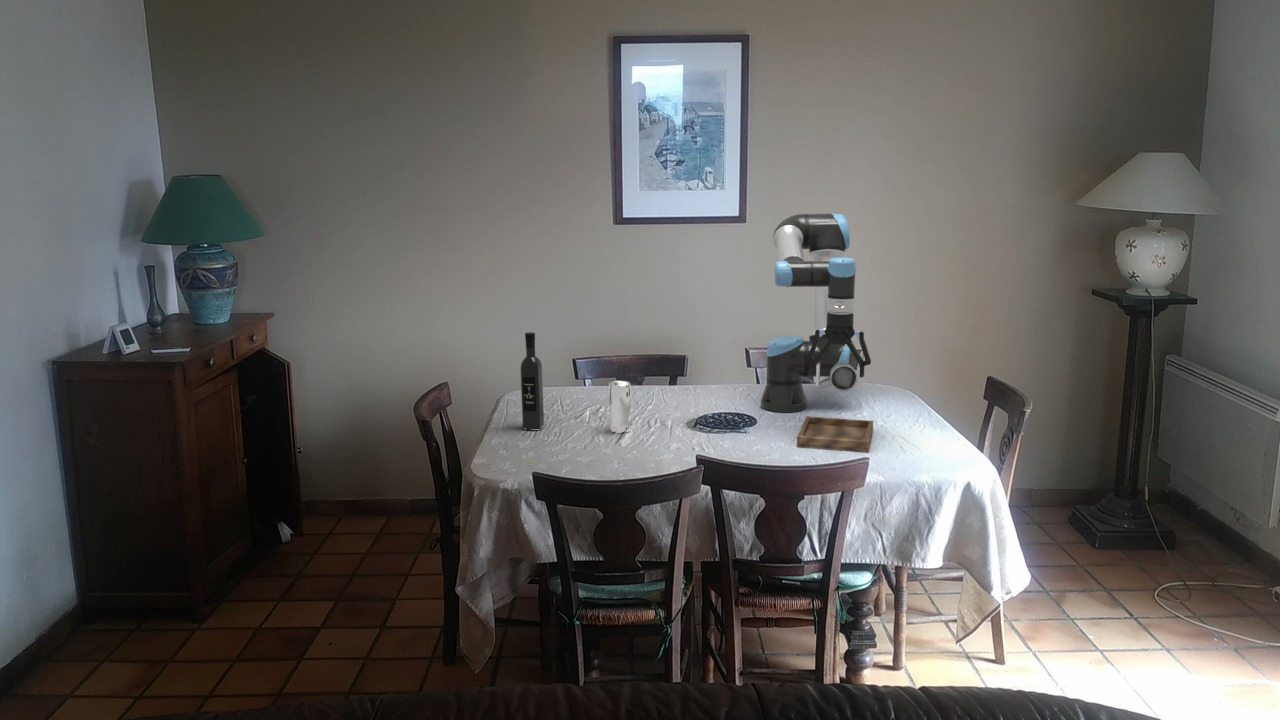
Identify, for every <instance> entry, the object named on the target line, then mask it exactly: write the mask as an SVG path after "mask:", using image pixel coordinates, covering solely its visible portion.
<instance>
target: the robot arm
mask: <svg viewBox="0 0 1280 720" xmlns="http://www.w3.org/2000/svg"><path fill="white" fill-rule="evenodd" d="M772 238H773V239H772V240H773V244H774V247H775V249H776V250H777V253H778V261H776V262H775V264H774V273H773V274H774V275H773V276H774V277H773V278H774V285H775V286H777V287H785V288H790V287H791V288H798V287H801V288H802V287H803V288H805V287H807V288H808V287H811V288H813V331H812V333H810V334H809V337H808V340H804V338H803V336H801V335H786V336H785V335H784V336H779V337H776V338H772V339H771V340H770V341H768V343H767V347H766V349H767V351H766V353H765V354H766V381H765V382H766V384H765V385H764V386H765V387H764V389H763V392H762V396H761V398H760V407H761V408H762V409H763V408H764V409H763V410H766V411H769V410H770V411H769V412H775V413H797V412H803V411H804V410H806V409H807V406H808V403H807V402H808V401H807V397H806V393H805V390H804V387H803V377H814V378H815V387H820V386H819V382H820V381H821V380H820V378H821V377H825V378H828V377H830V371H831V369H832V367H833V366H834V365H836V364H837V363H840V362H845V363H848V364H850V363H849V361H850V355H851V354H852V355H853V356H854V358H855V360H856V362H857V363H858V364H857V366H856V374H857V382H856V385H855V386H856V388H855V389H856V390H860V386H861V378H864V377H865V367H866V366H870V365H871V364H872V358H871V357H870V354H869V350H868V346H867V343H866V341H865V340H866V339H865V331H864V330H863V329H862V330H855V328H854V320H855V319H854V318H855V317H854V313H853V312H854V311H855V288H856V287H855V286H856V282H855V281H856V272H857V269H856V260H855V259H854V258H852V257H845V254H846V251H847V250H848V249H850V245H851V244H850V243H851V240H850V238H851V236H850V229H849V223H848V219H847V217H846V216H845V215H844V214H841V213H838V214H837V213H832V212H831V213H797V214H793V215H791V216H789V217H787V218H784V219H783V220H782V221H781V222H780V223H779V224H778V225H777V226H776V227H775V229H774V231H773V236H772ZM803 250H809V251H808V255H809V256H810V257H811V258H812V259H813V260H812V261H811V260H805V255H804V251H803ZM854 336H856V339H858V341H859V344H860V348H861V351H862V354H863V358H864V359H863V358H862V355H861V354H860V352H859V351H858V349H857V348H856V346H855V344H854V342H853V341H852V338H853V337H854Z"/></svg>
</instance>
